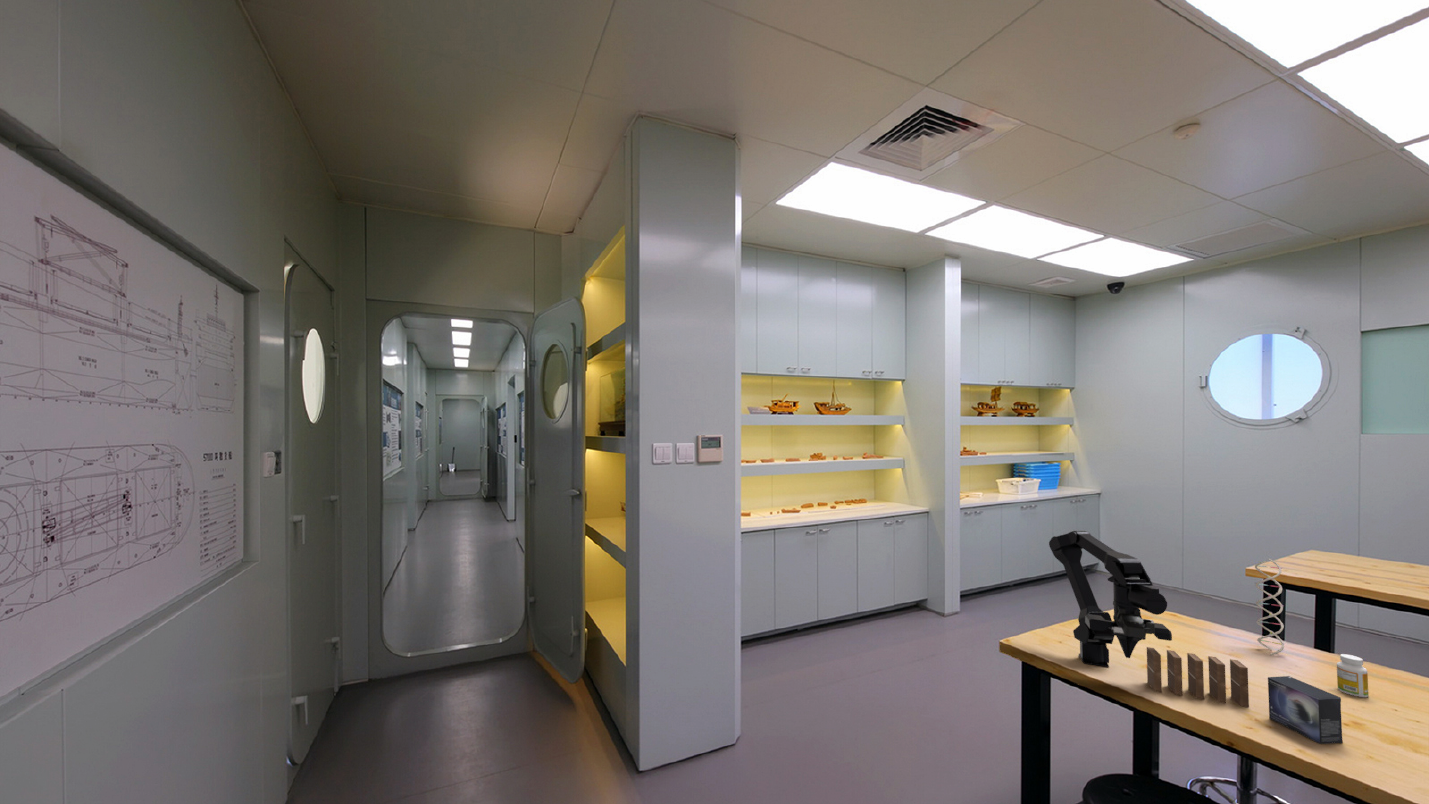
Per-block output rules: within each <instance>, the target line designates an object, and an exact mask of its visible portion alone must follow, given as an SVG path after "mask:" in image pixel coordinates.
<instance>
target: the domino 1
mask: <svg viewBox="0 0 1429 804" xmlns="http://www.w3.org/2000/svg"><path fill="white" fill-rule="evenodd" d="M1146 675H1147V677H1146V678H1147V684H1148V685H1149V686H1150V687H1151V689H1152V690H1153V691H1154V692H1157V693H1158V692H1159V693H1162V692H1163V691H1162V690H1163V688H1162V687H1163V686H1162V655H1161V653H1159V652H1158V650H1156V649H1155V648H1154V647H1150V646H1146Z"/></svg>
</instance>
